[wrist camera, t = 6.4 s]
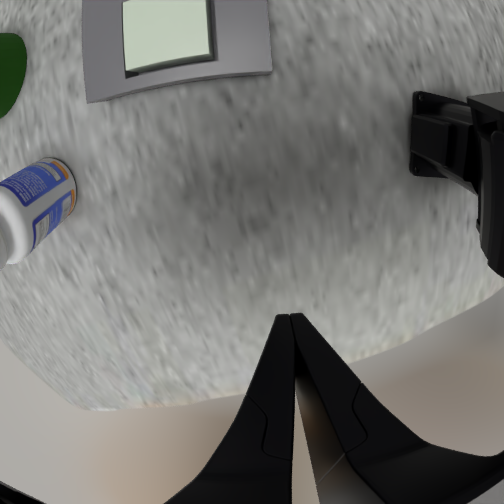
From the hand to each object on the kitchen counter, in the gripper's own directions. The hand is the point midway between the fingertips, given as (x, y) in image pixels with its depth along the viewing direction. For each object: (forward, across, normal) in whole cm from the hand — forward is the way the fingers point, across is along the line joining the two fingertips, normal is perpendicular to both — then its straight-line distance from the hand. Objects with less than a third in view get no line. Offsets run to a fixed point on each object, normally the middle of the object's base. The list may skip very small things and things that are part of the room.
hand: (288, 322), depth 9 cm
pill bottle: (+12, +17, -2) cm, 21 cm away
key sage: (+11, +5, -12) cm, 17 cm away
